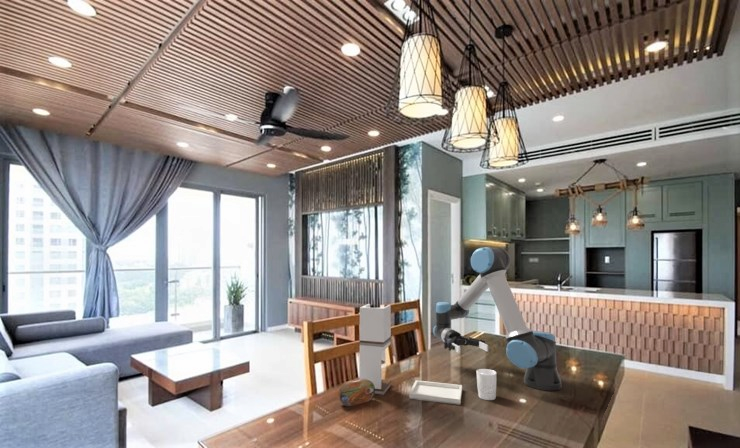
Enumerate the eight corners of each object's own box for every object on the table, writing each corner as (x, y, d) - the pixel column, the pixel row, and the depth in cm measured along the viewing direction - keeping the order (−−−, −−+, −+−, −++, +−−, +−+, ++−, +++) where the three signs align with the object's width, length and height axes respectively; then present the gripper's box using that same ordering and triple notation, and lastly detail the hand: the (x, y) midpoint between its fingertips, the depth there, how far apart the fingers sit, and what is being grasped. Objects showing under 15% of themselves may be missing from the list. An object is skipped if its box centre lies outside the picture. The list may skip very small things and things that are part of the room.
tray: (462, 389, 155) (462, 385, 156) (460, 404, 140) (460, 399, 140) (415, 384, 161) (415, 380, 161) (409, 398, 146) (409, 393, 146)
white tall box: (383, 394, 150) (383, 308, 153) (359, 391, 153) (359, 307, 156) (390, 385, 161) (390, 304, 164) (368, 382, 164) (368, 303, 167)
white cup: (498, 401, 143) (497, 375, 144) (477, 400, 145) (477, 374, 146) (495, 394, 151) (495, 369, 152) (476, 392, 152) (475, 368, 153)
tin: (340, 408, 137) (340, 385, 138) (337, 405, 140) (337, 382, 140) (375, 400, 144) (375, 378, 145) (371, 398, 147) (371, 376, 147)
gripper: (474, 344, 182) (499, 356, 161) (428, 346, 176) (447, 359, 156) (474, 328, 182) (498, 339, 162) (428, 330, 177) (447, 341, 156)
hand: (473, 349), depth 159 cm, fingers open, 13 cm apart
